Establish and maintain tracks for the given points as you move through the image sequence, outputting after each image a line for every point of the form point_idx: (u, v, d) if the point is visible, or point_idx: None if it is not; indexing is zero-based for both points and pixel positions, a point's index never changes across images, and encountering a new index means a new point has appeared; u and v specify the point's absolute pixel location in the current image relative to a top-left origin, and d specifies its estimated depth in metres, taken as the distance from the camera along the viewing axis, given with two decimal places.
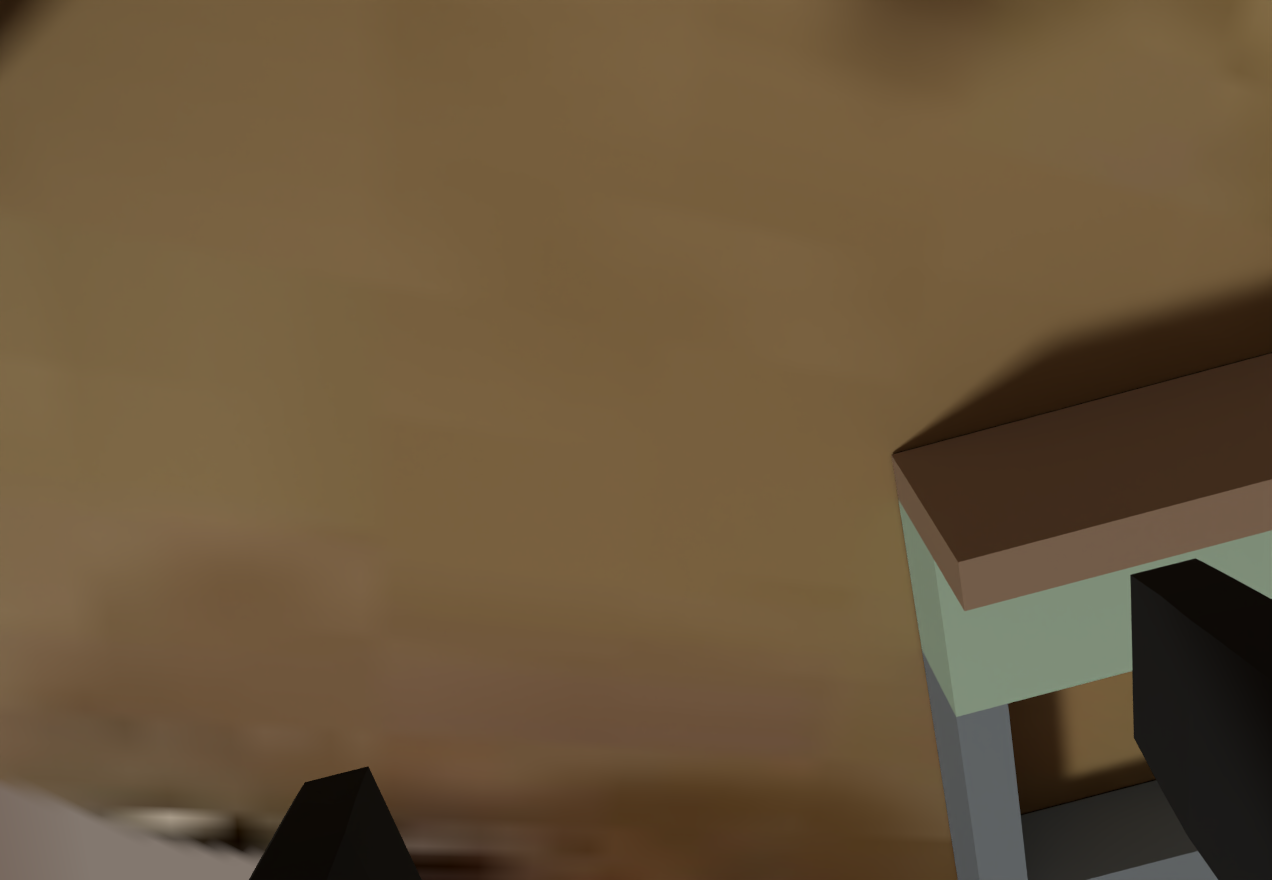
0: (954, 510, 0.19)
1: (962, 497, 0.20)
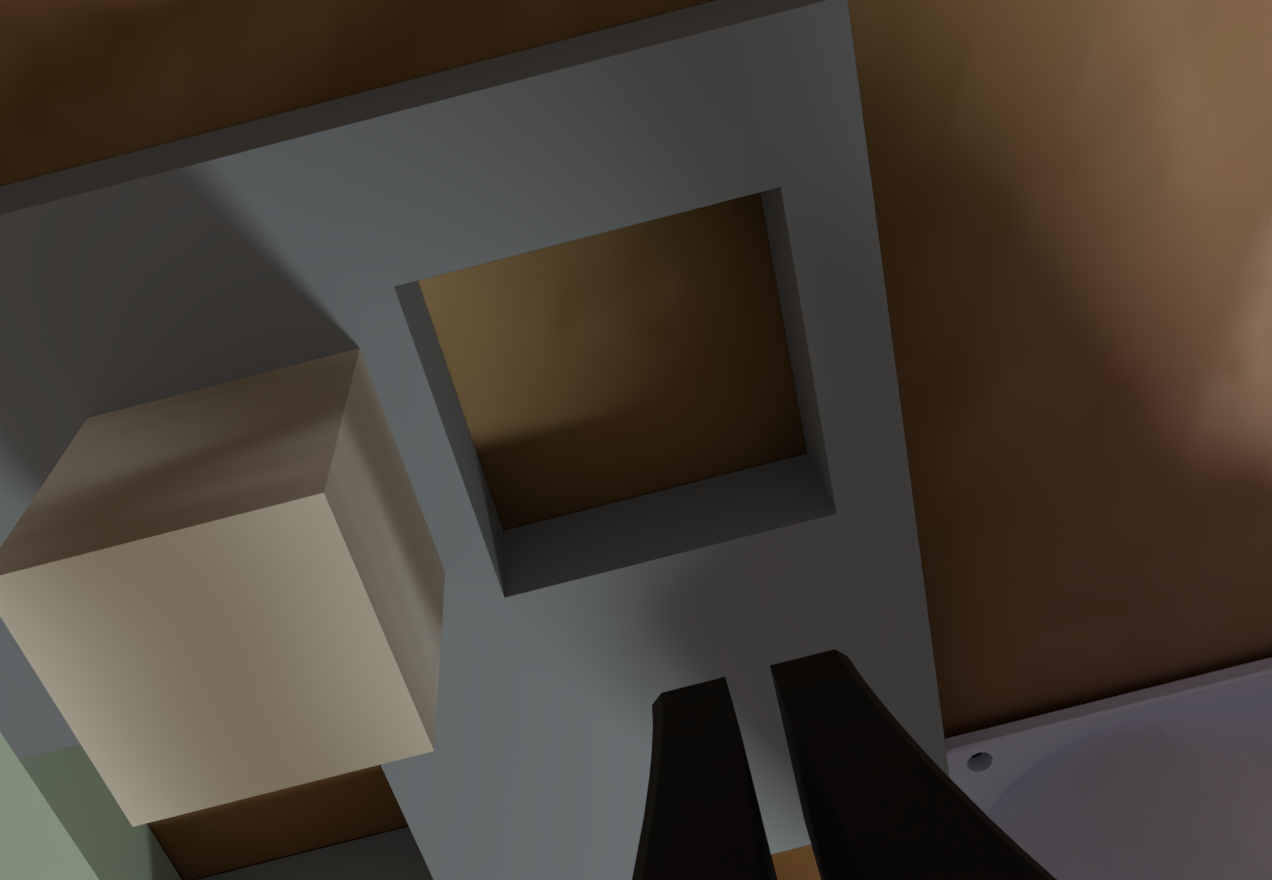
0: None
1: None
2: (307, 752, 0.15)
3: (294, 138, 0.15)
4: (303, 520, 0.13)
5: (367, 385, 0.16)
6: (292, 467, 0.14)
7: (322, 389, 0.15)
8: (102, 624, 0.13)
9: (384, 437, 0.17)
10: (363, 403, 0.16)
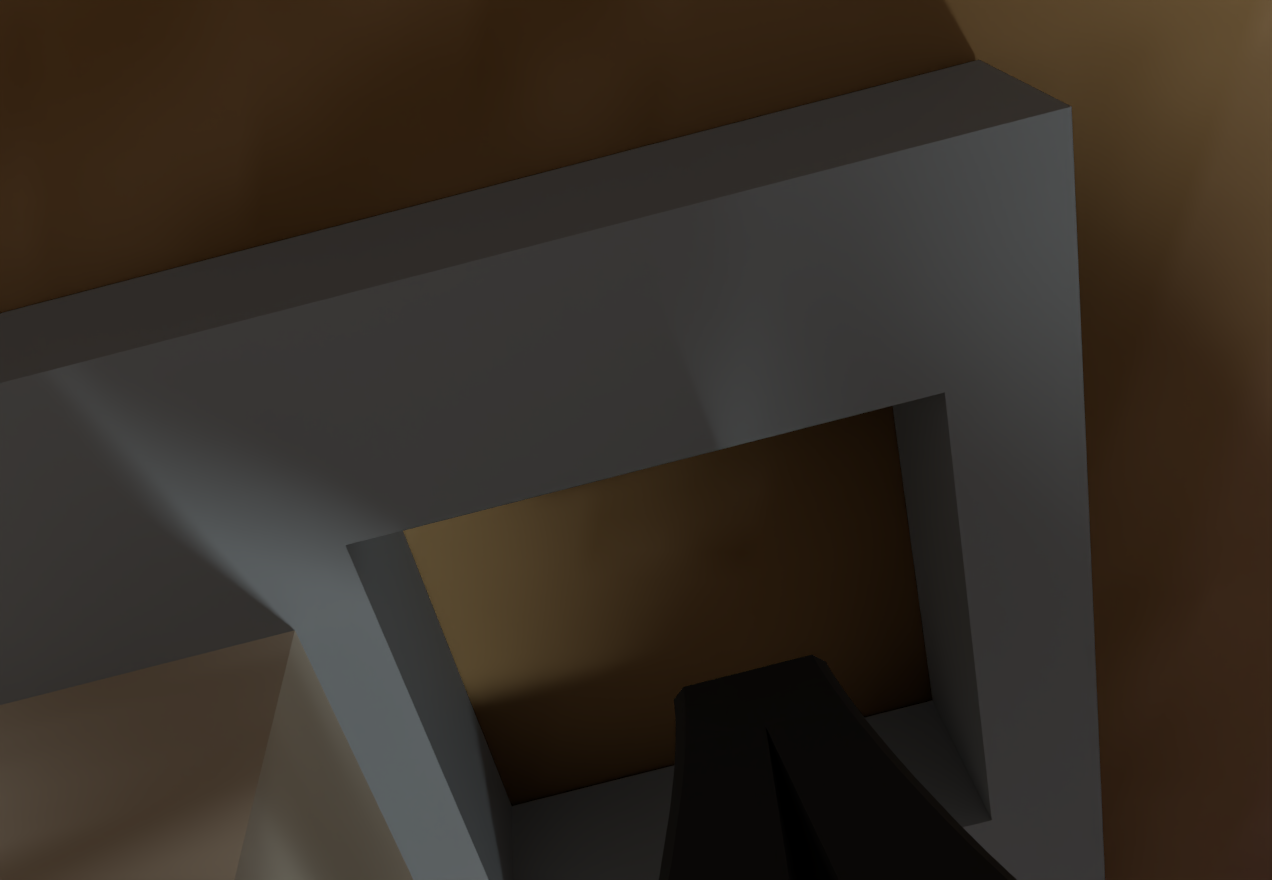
0: None
1: None
2: None
3: (179, 336, 0.09)
4: None
5: (305, 690, 0.11)
6: None
7: (229, 724, 0.10)
8: None
9: (333, 763, 0.11)
10: (296, 733, 0.10)
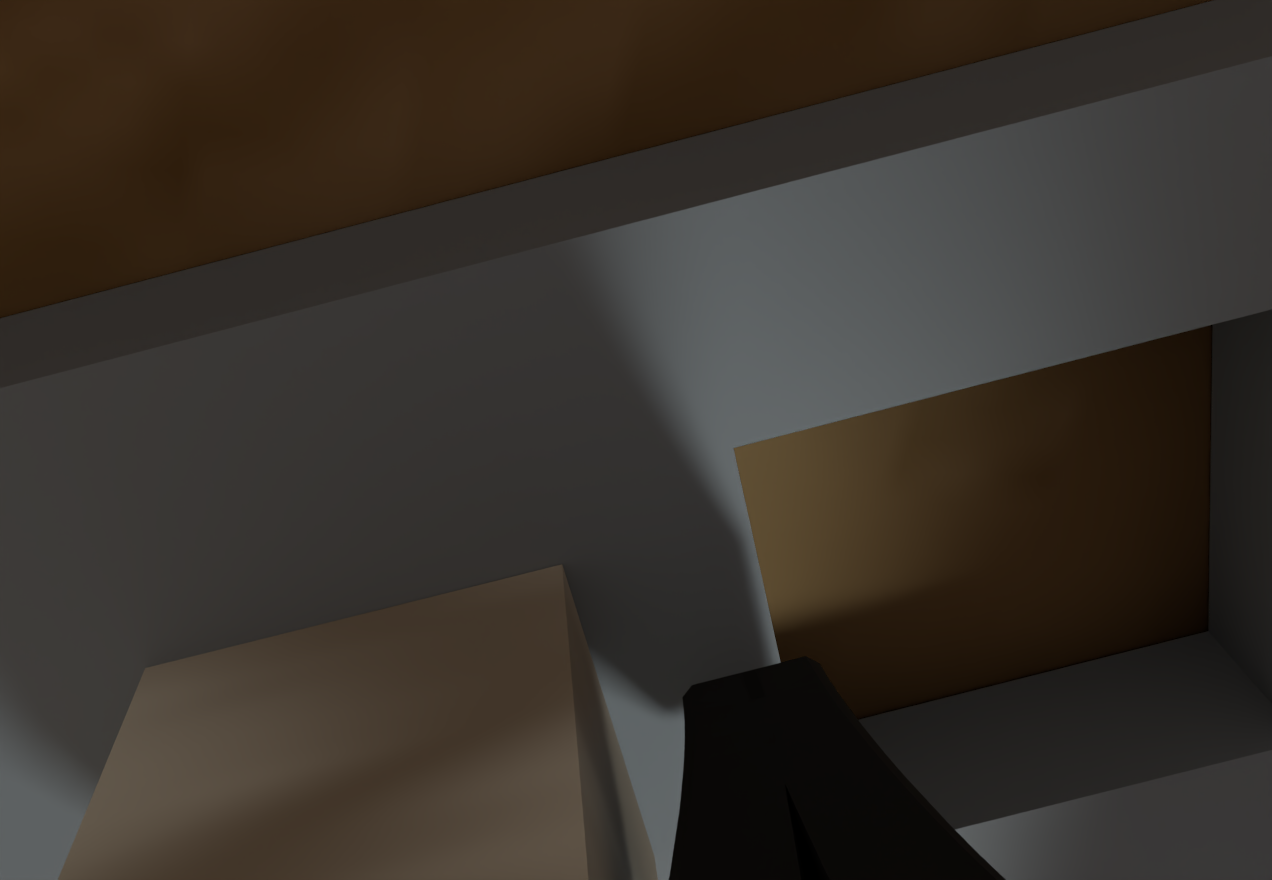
0: None
1: None
2: None
3: (610, 228, 0.09)
4: None
5: (575, 624, 0.11)
6: (513, 842, 0.08)
7: (522, 650, 0.10)
8: None
9: (597, 698, 0.11)
10: (579, 664, 0.10)
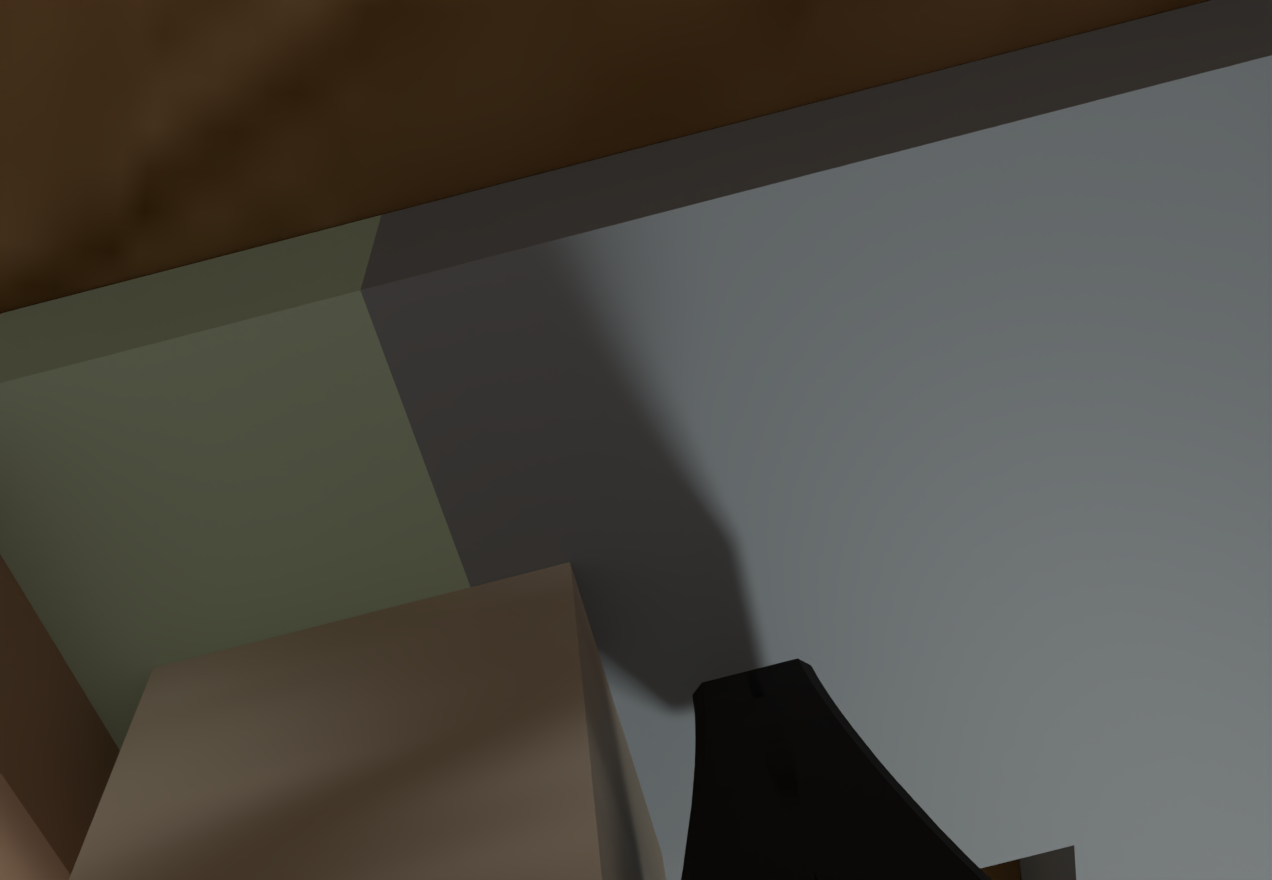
0: None
1: None
2: None
3: None
4: None
5: (584, 622, 0.11)
6: (526, 840, 0.08)
7: (531, 649, 0.10)
8: None
9: (605, 696, 0.11)
10: (588, 661, 0.10)
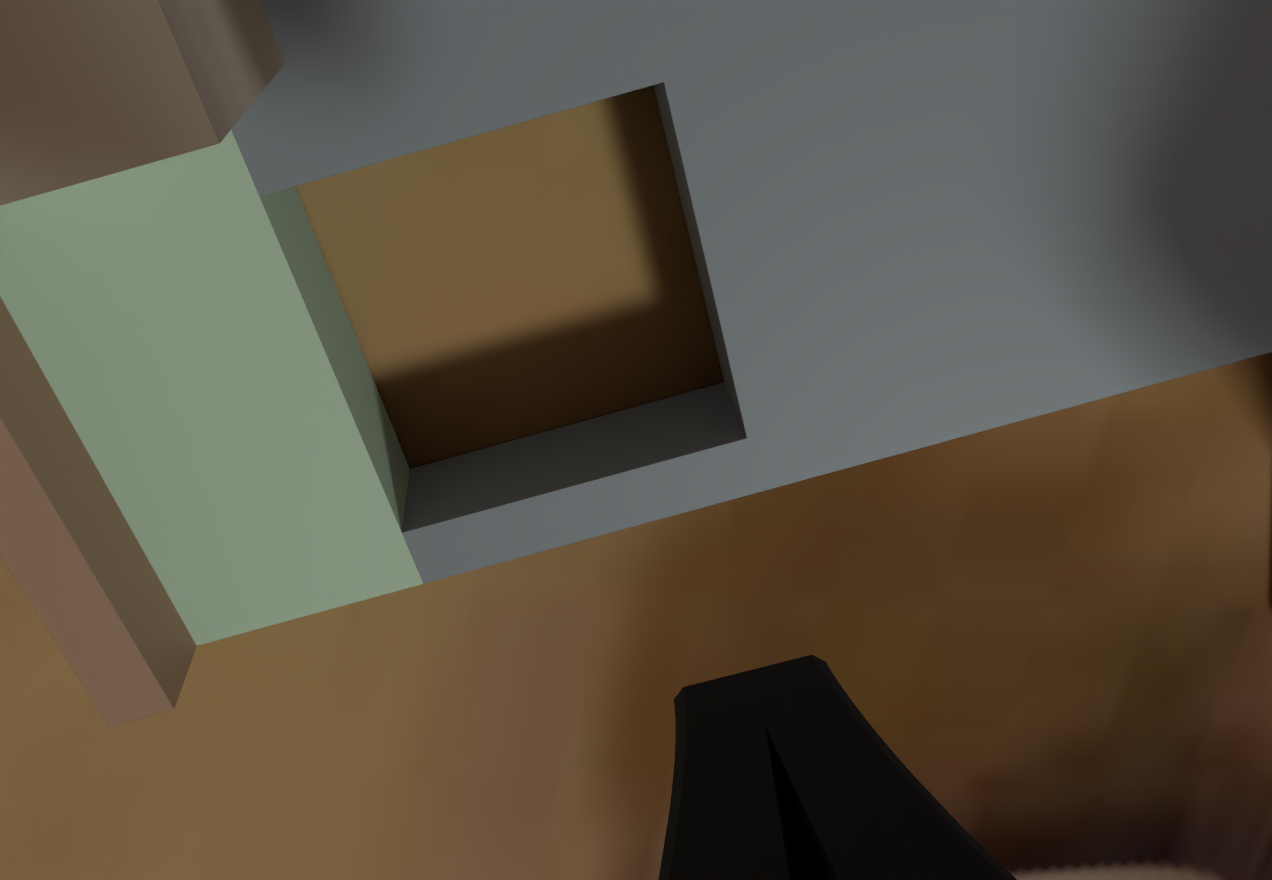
0: None
1: None
2: (44, 138, 0.11)
3: None
4: None
5: None
6: None
7: None
8: None
9: None
10: None
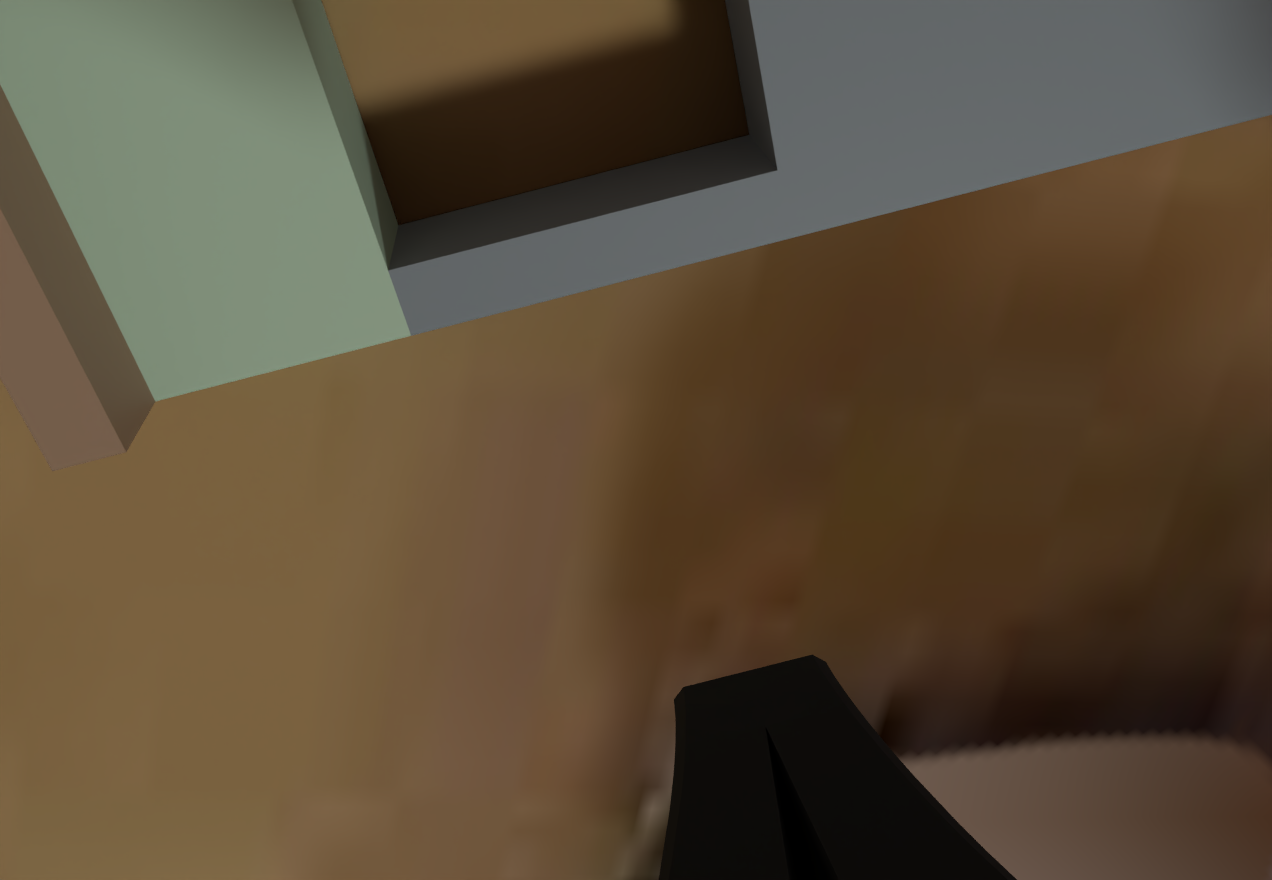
0: None
1: None
2: None
3: None
4: None
5: None
6: None
7: None
8: None
9: None
10: None
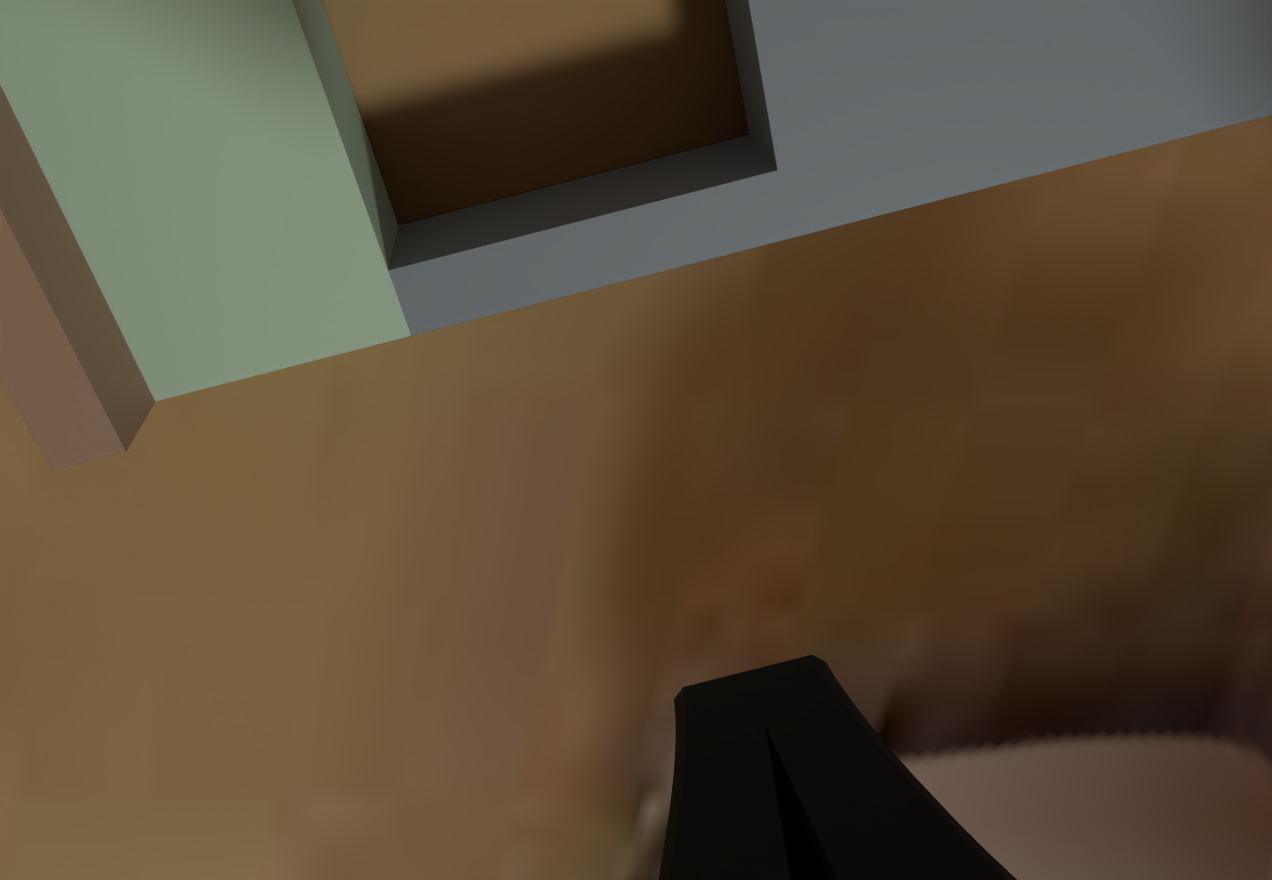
0: None
1: None
2: None
3: None
4: None
5: None
6: None
7: None
8: None
9: None
10: None
